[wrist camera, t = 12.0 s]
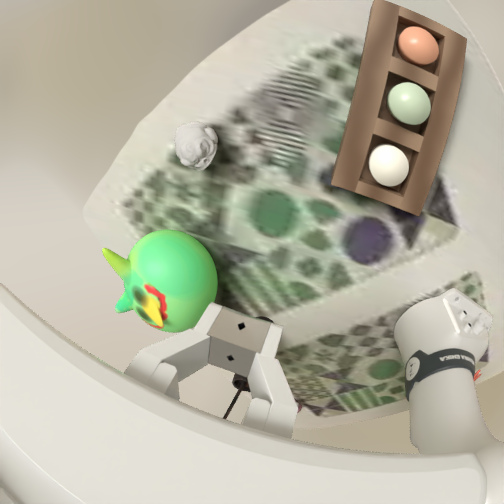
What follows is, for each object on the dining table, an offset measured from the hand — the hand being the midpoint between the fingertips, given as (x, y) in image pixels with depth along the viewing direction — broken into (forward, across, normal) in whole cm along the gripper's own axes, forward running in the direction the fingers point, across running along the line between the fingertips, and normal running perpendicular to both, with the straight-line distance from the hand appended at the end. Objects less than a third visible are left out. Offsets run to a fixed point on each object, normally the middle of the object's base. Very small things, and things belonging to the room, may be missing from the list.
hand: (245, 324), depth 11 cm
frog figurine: (+29, +15, 0) cm, 33 cm away
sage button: (+26, -9, -12) cm, 30 cm away
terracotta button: (+27, -9, -20) cm, 35 cm away
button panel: (+29, -9, -12) cm, 33 cm away
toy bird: (+29, +17, +22) cm, 40 cm away
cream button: (+27, -9, -4) cm, 29 cm away
